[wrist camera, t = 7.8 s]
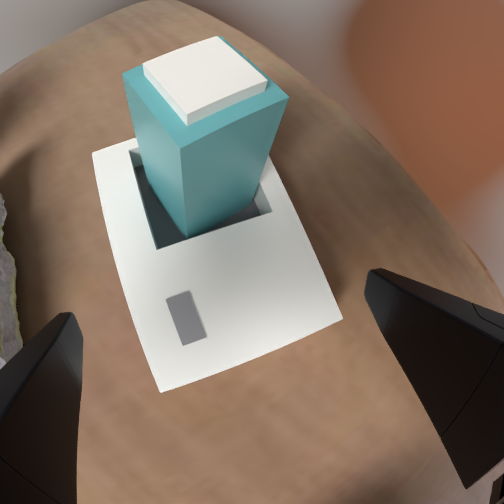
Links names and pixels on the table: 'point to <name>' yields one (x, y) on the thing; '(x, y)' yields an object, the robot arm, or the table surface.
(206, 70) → the plug
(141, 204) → the socket plate
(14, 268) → the rock
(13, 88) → the table surface
